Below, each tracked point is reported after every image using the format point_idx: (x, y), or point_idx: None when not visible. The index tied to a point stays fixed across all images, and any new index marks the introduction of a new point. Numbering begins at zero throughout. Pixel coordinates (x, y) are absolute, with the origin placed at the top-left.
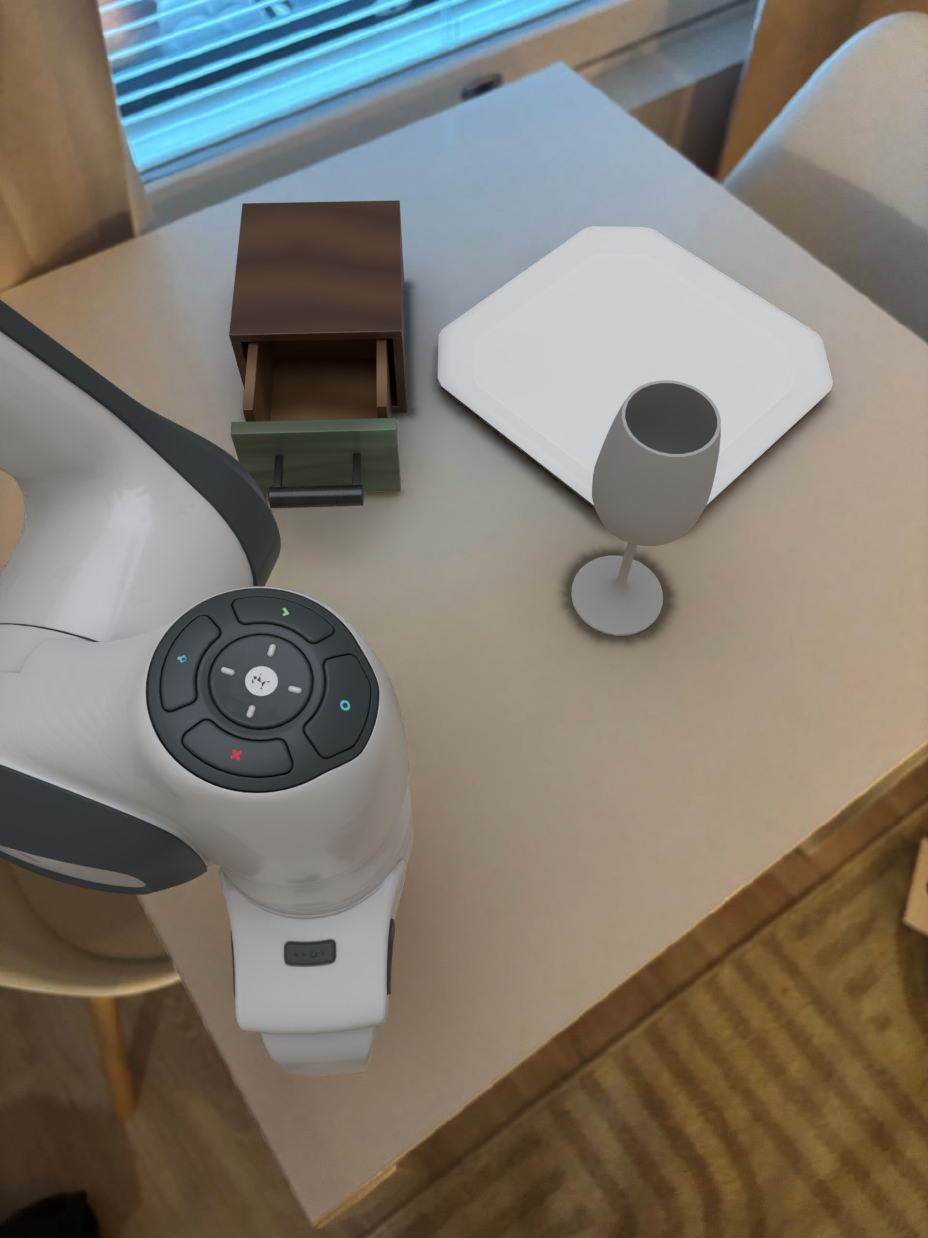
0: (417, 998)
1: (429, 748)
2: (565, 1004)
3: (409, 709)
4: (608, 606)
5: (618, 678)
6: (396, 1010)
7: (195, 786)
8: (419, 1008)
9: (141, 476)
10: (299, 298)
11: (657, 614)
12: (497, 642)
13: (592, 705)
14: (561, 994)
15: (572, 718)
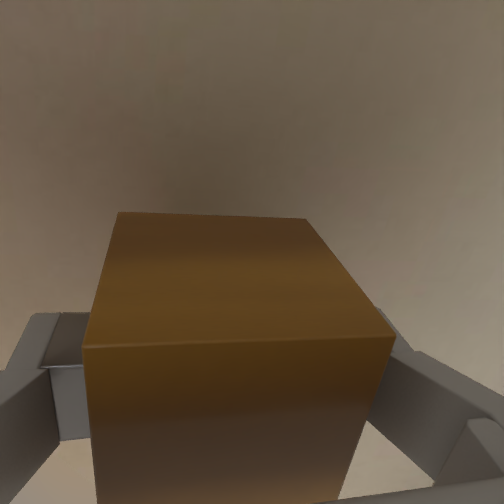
0: (60, 296)
1: (409, 312)
2: (62, 449)
3: (469, 289)
4: None
5: (411, 475)
6: (39, 268)
7: None
8: (45, 299)
9: None
10: None
11: None
12: (500, 379)
13: (394, 458)
14: (74, 446)
15: (387, 444)
